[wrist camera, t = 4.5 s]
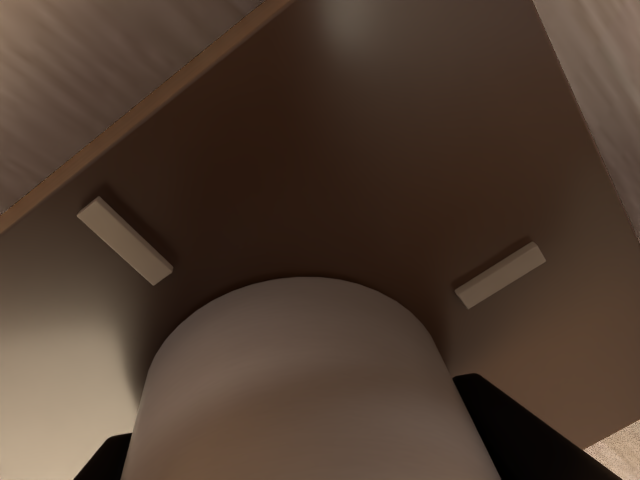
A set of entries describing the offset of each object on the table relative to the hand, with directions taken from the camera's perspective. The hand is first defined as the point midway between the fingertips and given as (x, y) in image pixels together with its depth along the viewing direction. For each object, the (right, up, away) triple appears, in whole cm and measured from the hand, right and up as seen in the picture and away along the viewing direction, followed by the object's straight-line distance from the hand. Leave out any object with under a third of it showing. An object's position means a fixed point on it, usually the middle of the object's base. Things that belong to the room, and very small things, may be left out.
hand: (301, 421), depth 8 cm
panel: (0, +2, +3) cm, 4 cm away
